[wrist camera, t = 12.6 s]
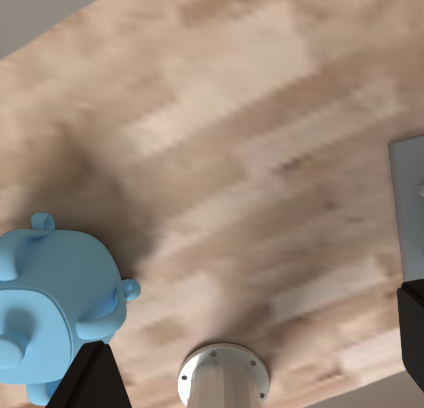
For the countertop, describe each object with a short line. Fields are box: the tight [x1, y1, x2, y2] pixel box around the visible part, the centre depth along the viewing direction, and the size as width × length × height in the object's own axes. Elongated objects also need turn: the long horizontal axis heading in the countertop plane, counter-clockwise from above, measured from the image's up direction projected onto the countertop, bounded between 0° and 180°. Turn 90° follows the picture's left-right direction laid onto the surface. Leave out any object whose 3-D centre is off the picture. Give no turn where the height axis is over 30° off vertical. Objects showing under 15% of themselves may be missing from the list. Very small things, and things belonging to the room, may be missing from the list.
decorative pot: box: [0, 212, 141, 405], centre depth 34 cm, size 16×16×14 cm
